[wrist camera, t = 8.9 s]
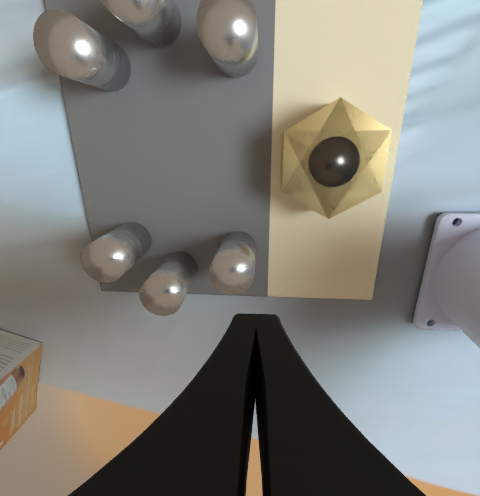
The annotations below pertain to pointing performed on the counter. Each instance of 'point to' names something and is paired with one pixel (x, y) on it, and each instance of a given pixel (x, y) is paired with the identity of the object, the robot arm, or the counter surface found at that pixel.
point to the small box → (17, 382)
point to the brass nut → (334, 158)
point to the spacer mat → (240, 141)
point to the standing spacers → (115, 78)
